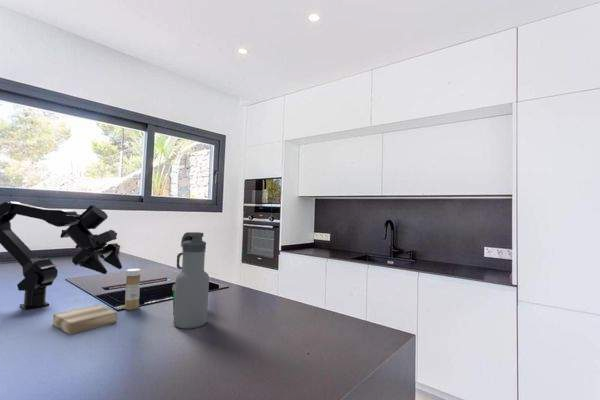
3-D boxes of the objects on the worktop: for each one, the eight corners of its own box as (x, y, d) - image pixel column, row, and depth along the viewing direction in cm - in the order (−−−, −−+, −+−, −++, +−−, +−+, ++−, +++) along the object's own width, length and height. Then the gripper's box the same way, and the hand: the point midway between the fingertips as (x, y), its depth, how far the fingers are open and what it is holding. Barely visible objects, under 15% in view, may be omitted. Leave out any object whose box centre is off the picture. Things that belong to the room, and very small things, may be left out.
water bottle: (167, 322, 95) (171, 231, 96) (196, 315, 102) (200, 231, 103) (182, 332, 88) (187, 233, 89) (213, 324, 95) (217, 233, 96)
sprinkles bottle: (139, 305, 111) (141, 268, 111) (138, 309, 107) (140, 270, 107) (124, 306, 109) (126, 268, 109) (123, 310, 105) (125, 270, 105)
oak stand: (52, 324, 91) (53, 314, 91) (97, 314, 101) (98, 304, 101) (70, 334, 84) (71, 323, 84) (116, 322, 94) (116, 312, 94)
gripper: (83, 223, 100) (116, 258, 99) (116, 221, 118) (143, 251, 118) (57, 247, 99) (90, 282, 99) (94, 242, 118) (121, 271, 117)
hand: (114, 270), depth 108 cm, fingers open, 9 cm apart
